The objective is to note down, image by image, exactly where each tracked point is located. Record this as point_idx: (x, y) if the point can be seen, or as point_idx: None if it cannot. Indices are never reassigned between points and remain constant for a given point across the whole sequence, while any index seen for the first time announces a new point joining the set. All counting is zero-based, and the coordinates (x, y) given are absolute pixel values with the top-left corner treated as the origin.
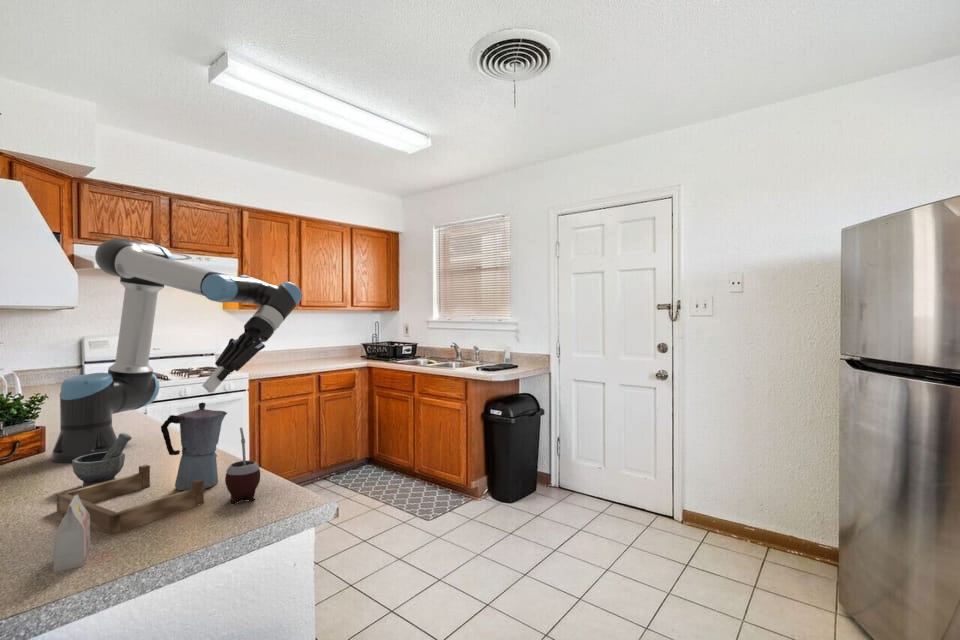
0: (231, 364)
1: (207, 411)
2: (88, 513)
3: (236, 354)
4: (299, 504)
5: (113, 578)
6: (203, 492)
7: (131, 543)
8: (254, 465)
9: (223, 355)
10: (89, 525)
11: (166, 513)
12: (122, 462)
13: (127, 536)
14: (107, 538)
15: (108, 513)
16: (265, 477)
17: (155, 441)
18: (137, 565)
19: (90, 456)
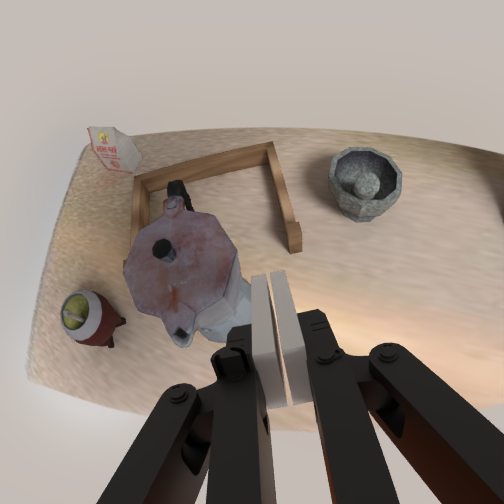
0: (177, 389)
1: (151, 266)
2: (117, 149)
3: (212, 478)
4: (44, 359)
5: (72, 183)
6: None
7: (109, 199)
8: (61, 322)
9: (421, 415)
10: (120, 158)
11: None
12: (352, 209)
13: (127, 198)
14: None
15: (145, 174)
16: None
17: None
18: (72, 197)
19: (393, 171)
